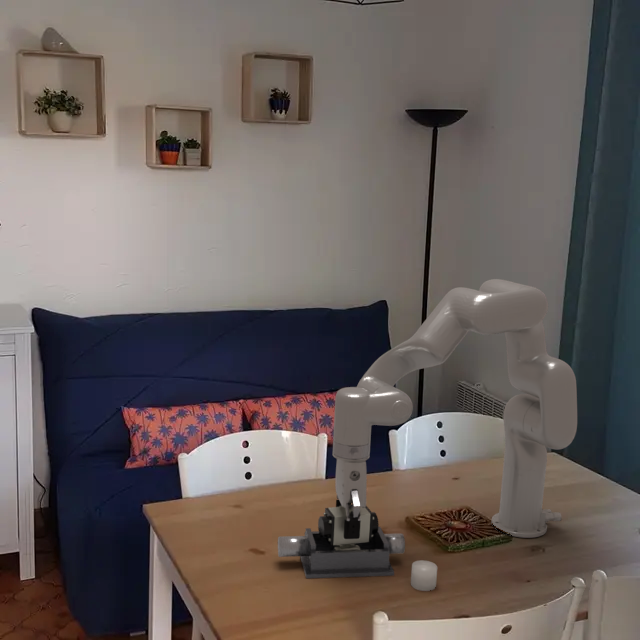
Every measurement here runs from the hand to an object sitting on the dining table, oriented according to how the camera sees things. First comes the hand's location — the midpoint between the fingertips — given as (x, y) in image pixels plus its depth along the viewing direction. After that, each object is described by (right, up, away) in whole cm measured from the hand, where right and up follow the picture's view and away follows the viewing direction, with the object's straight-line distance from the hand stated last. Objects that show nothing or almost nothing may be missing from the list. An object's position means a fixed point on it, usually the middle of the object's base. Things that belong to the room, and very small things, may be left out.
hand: (347, 527), depth 173 cm
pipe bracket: (0, -8, +1) cm, 8 cm away
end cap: (+15, -10, -6) cm, 19 cm away
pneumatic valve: (0, -7, +1) cm, 7 cm away
